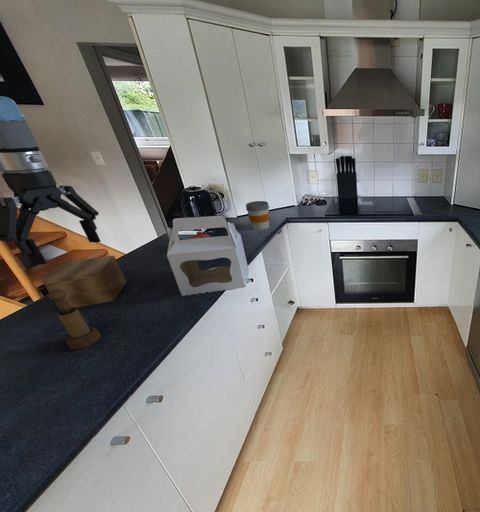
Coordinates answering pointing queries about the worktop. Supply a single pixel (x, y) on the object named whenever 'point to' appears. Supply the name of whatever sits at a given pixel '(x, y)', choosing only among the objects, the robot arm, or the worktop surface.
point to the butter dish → (200, 235)
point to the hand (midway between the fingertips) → (69, 251)
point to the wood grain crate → (87, 281)
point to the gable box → (206, 256)
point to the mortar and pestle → (74, 322)
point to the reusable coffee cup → (258, 214)
